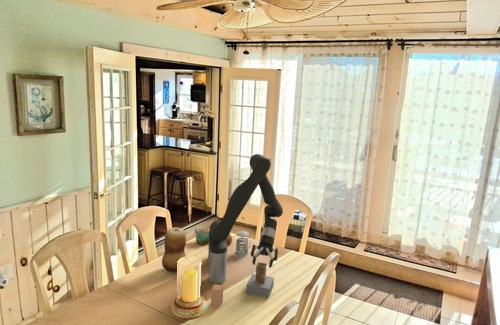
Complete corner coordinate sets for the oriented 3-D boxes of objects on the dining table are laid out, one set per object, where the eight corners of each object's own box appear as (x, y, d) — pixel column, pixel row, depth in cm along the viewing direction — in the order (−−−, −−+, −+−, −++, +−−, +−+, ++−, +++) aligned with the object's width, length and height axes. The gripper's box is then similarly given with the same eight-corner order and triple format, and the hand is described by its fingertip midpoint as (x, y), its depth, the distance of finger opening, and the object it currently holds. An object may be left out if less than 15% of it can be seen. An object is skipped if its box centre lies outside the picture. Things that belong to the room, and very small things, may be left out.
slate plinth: (246, 293, 184) (246, 284, 183) (252, 282, 195) (252, 273, 194) (268, 297, 181) (269, 288, 180) (273, 286, 192) (273, 277, 191)
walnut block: (255, 282, 186) (256, 266, 184) (257, 277, 190) (258, 262, 188) (263, 283, 185) (264, 267, 183) (265, 279, 189) (266, 263, 187)
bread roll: (223, 247, 238) (223, 236, 237) (212, 239, 250) (212, 228, 249) (235, 244, 244) (235, 233, 242) (224, 236, 256) (224, 226, 254)
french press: (240, 249, 236) (241, 213, 231) (254, 254, 229) (256, 217, 225) (231, 254, 228) (232, 217, 223) (245, 259, 222) (247, 221, 217)
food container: (191, 245, 239) (191, 230, 237) (194, 241, 245) (194, 227, 243) (209, 247, 237) (209, 232, 235) (211, 243, 243) (212, 229, 241)
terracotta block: (210, 305, 172) (211, 288, 170) (214, 300, 176) (214, 284, 174) (219, 307, 171) (220, 290, 169) (222, 302, 175) (223, 285, 173)
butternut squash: (178, 278, 196) (178, 235, 191) (157, 273, 200) (157, 231, 195) (190, 267, 208) (191, 227, 204) (171, 262, 213) (171, 223, 208)
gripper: (254, 232, 194) (247, 261, 185) (279, 236, 191) (274, 265, 182) (256, 238, 200) (249, 266, 191) (281, 242, 197) (275, 270, 188)
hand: (261, 265), depth 187 cm, fingers open, 8 cm apart
